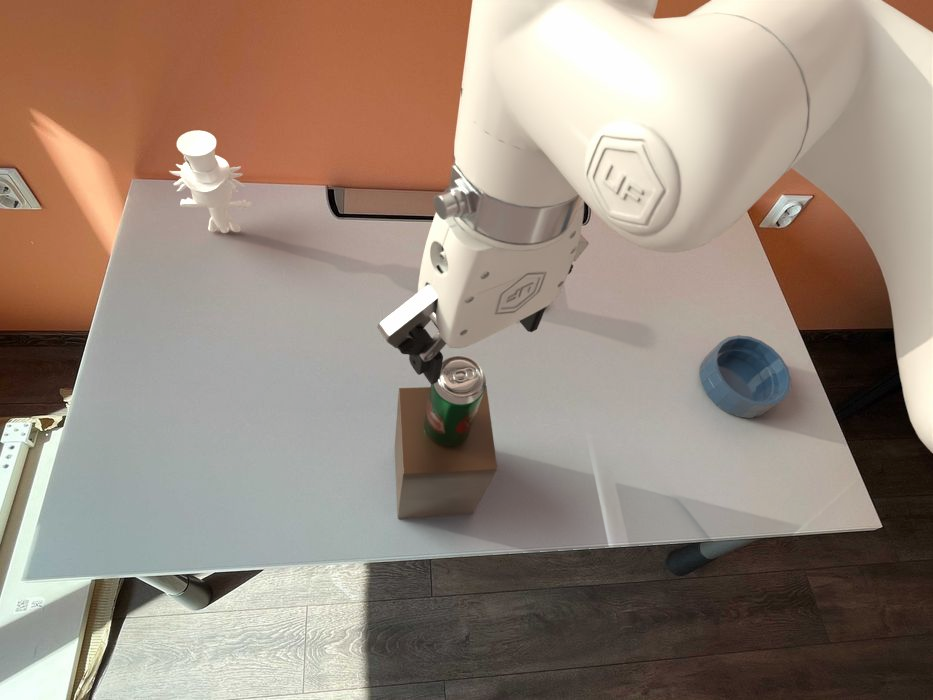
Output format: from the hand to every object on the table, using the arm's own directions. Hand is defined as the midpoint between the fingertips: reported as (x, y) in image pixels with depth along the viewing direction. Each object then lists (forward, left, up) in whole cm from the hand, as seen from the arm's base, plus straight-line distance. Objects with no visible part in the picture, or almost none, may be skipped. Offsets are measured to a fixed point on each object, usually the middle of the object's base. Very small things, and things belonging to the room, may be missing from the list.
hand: (475, 343), depth 47 cm
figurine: (+54, +7, -37) cm, 65 cm away
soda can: (+1, 0, -19) cm, 19 cm away
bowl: (-11, -50, -37) cm, 63 cm away
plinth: (+1, 0, -37) cm, 37 cm away
